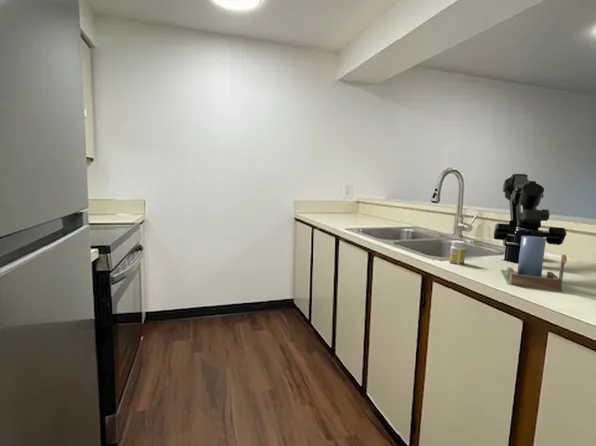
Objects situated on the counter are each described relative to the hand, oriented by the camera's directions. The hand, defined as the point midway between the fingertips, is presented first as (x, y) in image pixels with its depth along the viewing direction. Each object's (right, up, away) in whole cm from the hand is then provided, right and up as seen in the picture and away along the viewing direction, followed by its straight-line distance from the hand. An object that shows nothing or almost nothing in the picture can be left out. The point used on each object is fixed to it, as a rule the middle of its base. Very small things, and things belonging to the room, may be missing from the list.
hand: (529, 255), depth 106 cm
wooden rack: (-3, -8, -6) cm, 11 cm away
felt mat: (-1, -8, -1) cm, 8 cm away
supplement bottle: (-14, -5, +18) cm, 23 cm away
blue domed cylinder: (-2, -7, -2) cm, 8 cm away
